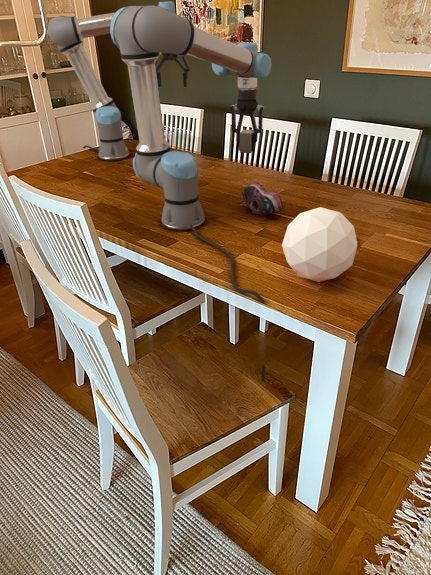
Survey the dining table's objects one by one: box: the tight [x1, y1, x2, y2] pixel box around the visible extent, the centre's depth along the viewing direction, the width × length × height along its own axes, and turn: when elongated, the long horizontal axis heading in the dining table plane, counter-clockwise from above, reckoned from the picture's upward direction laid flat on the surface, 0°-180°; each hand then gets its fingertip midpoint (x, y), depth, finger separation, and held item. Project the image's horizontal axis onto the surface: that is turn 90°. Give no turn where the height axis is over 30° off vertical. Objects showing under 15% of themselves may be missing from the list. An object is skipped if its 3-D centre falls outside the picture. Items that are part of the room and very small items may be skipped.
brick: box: [239, 129, 254, 154], centre depth 181 cm, size 6×5×8 cm
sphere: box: [281, 206, 358, 283], centre depth 118 cm, size 19×20×20 cm
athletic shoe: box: [238, 182, 284, 217], centre depth 160 cm, size 11×22×12 cm
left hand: (172, 86), depth 227 cm, fingers open, 13 cm apart
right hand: (246, 149), depth 182 cm, fingers closed on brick, 5 cm apart
